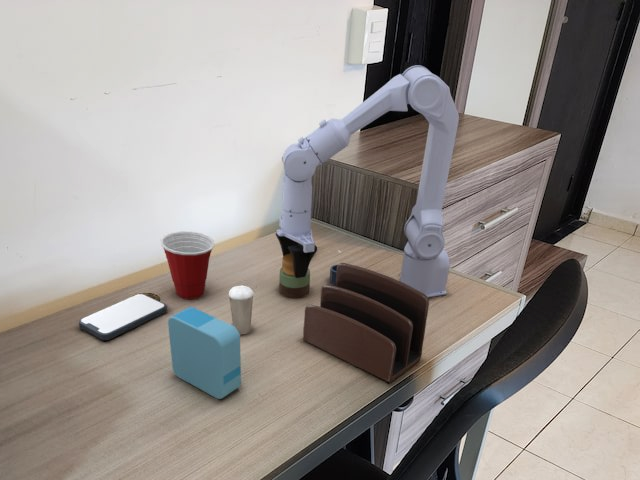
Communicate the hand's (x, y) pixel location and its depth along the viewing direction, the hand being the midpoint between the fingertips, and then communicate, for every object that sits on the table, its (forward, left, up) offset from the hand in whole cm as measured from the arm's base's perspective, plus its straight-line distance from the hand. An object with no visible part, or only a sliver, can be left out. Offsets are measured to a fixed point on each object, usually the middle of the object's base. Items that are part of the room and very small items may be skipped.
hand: (295, 270), depth 130 cm
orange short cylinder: (0, 0, 0) cm, 0 cm away
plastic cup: (+21, -6, -5) cm, 22 cm away
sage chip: (0, 0, -2) cm, 2 cm away
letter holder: (-3, +26, -5) cm, 26 cm away
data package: (+26, +26, -5) cm, 37 cm away
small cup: (-11, -1, -5) cm, 12 cm away
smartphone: (+36, 0, -5) cm, 36 cm away
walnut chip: (0, 0, -5) cm, 5 cm away
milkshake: (+15, +12, -5) cm, 20 cm away
